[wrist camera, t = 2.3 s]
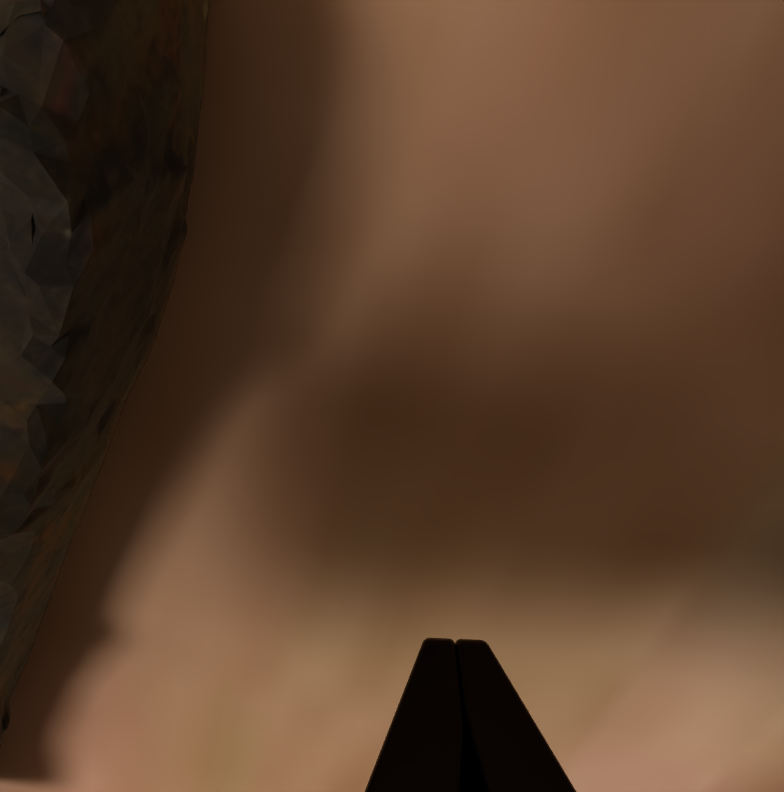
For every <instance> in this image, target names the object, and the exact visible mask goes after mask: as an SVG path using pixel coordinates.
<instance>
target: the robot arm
mask: <svg viewBox="0 0 784 792" xmlns="http://www.w3.org/2000/svg"><path fill="white" fill-rule="evenodd" d="M365 792H576V790H575V789H574V787H573V785H572V784H571V782H570V780H569V779H568V777H567V775H566V774H565V772H564V770H563V769H562V767H561V765H560V764H559V762H558V760H557V759H556V757H555V755H554V754H553V752H552V750H551V749H550V747H549V745H548V744H547V742H546V740H545V739H544V737H543V735H542V734H541V732H540V730H539V729H538V727H537V725H536V724H535V722H534V720H533V719H532V717H531V715H530V714H529V712H528V710H527V708H526V707H525V705H524V703H523V702H522V700H521V698H520V697H519V695H518V693H517V692H516V690H515V688H514V687H513V685H512V683H511V682H510V680H509V678H508V677H507V675H506V673H505V672H504V670H503V668H502V667H501V665H500V663H499V662H498V660H497V658H496V657H495V655H494V653H493V652H492V650H491V648H490V647H489V645H488V644H487V643H486V642H485V641H483V640H471V639H459V640H457V641H456V642H455V643H454V641H453V640H451V639H446V638H427V639H425V640H424V641H423V643H422V646H421V648H420V651H419V653H418V656H417V658H416V661H415V664H414V666H413V669H412V671H411V674H410V676H409V679H408V682H407V684H406V687H405V689H404V692H403V695H402V697H401V700H400V702H399V705H398V707H397V710H396V713H395V715H394V718H393V720H392V723H391V725H390V728H389V731H388V733H387V736H386V738H385V741H384V743H383V746H382V749H381V751H380V754H379V756H378V759H377V761H376V764H375V767H374V769H373V772H372V774H371V777H370V779H369V782H368V785H367V787H366V790H365Z"/></svg>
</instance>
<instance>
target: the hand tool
mask: <svg viewBox="0 0 784 792" xmlns="http://www.w3.org/2000/svg"><path fill="white" fill-rule="evenodd" d="M208 6H209V0H0V745H1V743H2V735H3V734H4V732H5V731H6V729H7V728H8V725H9V720H10V710H9V706H8V700H9V697H10V695H11V693H12V691H13V689H14V686H15V684H16V682H17V680H18V678H19V676H20V674H21V672H22V670H23V668H24V666H25V664H26V662H27V660H28V658H29V655H30V652H31V649H32V647H33V644H34V641H35V638H36V635H37V632H38V629H39V625H40V622H41V619H42V616H43V614H44V611H45V609H46V606H47V604H48V601H49V599H50V596H51V594H52V591H53V588H54V586H55V583H56V580H57V577H58V575H59V572H60V569H61V567H62V564H63V561H64V558H65V556H66V553H67V550H68V548H69V545H70V542H71V539H72V537H73V535H74V533H75V531H76V529H77V527H78V525H79V523H80V521H81V518H82V515H83V513H84V510H85V507H86V505H87V502H88V500H89V497H90V494H91V491H92V488H93V486H94V483H95V480H96V478H97V475H98V473H99V470H100V468H101V465H102V463H103V461H104V458H105V455H106V453H107V450H108V447H109V445H110V442H111V439H112V436H113V434H114V431H115V428H116V426H117V423H118V420H119V418H120V415H121V412H122V410H123V407H124V404H125V402H126V399H127V397H128V395H129V393H130V391H131V389H132V387H133V385H134V383H135V381H136V379H137V377H138V375H139V373H140V371H141V369H142V367H143V366H144V364H145V362H146V359H147V357H148V354H149V352H150V349H151V347H152V344H153V342H154V339H155V337H156V334H157V330H158V328H159V325H160V322H161V319H162V315H163V312H164V309H165V306H166V303H167V300H168V297H169V294H170V290H171V287H172V284H173V280H174V276H175V273H176V269H177V265H178V261H179V257H180V254H181V250H182V246H183V243H184V239H185V236H186V232H187V227H186V220H185V216H186V209H187V202H188V195H189V188H190V184H191V181H192V179H193V171H194V161H195V150H196V140H197V130H198V123H199V115H200V108H201V101H202V93H203V81H204V56H205V35H206V26H207V16H208Z"/></svg>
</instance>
